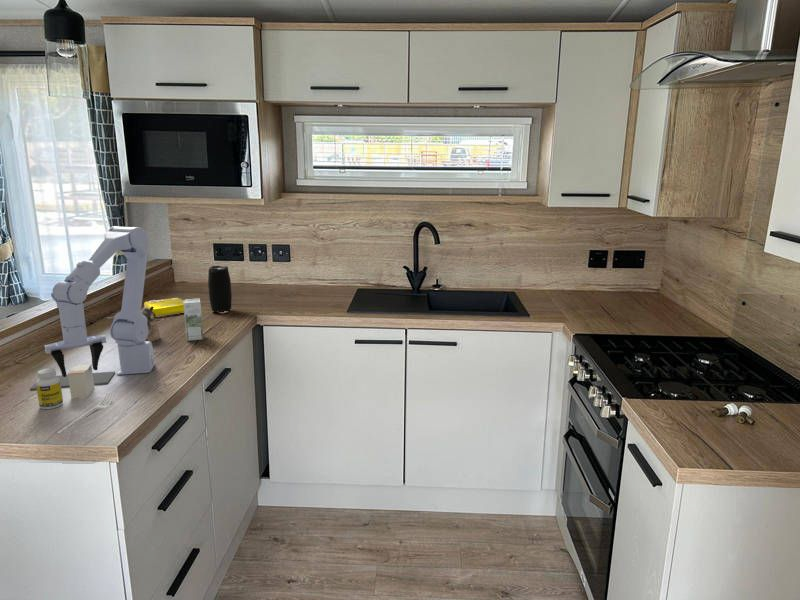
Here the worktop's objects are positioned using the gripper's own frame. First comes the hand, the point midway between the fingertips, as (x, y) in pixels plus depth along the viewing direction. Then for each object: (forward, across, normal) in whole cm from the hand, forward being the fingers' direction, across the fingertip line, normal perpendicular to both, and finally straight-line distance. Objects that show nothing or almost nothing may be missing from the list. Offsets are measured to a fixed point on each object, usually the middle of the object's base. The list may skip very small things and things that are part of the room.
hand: (80, 372), depth 156 cm
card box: (+6, 0, 0) cm, 6 cm away
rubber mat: (+6, 0, -11) cm, 13 cm away
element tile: (+6, -49, -74) cm, 89 cm away
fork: (+7, +3, +16) cm, 18 cm away
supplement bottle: (+6, +8, +4) cm, 11 cm away
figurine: (+6, -31, -38) cm, 49 cm away
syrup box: (+6, -43, -28) cm, 52 cm away
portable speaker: (+6, -67, -57) cm, 88 cm away
